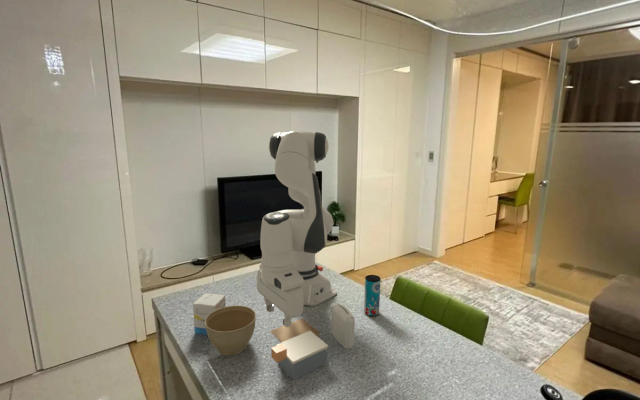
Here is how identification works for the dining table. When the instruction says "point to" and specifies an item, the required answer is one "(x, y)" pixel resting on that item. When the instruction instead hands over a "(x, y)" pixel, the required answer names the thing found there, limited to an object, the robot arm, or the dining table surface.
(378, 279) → the beverage can
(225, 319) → the planter bowl
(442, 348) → the dining table surface
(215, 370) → the dining table surface
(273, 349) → the lid
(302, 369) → the tub
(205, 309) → the ink box
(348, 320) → the photo printer
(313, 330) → the mat
